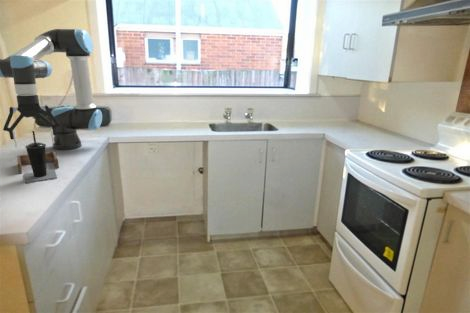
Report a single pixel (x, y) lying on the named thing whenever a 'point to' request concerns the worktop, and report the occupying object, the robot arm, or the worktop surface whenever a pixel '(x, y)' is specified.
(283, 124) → the worktop surface
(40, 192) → the worktop surface
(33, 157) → the drinking cup
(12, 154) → the worktop surface
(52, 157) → the open wooden frame
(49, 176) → the mat
